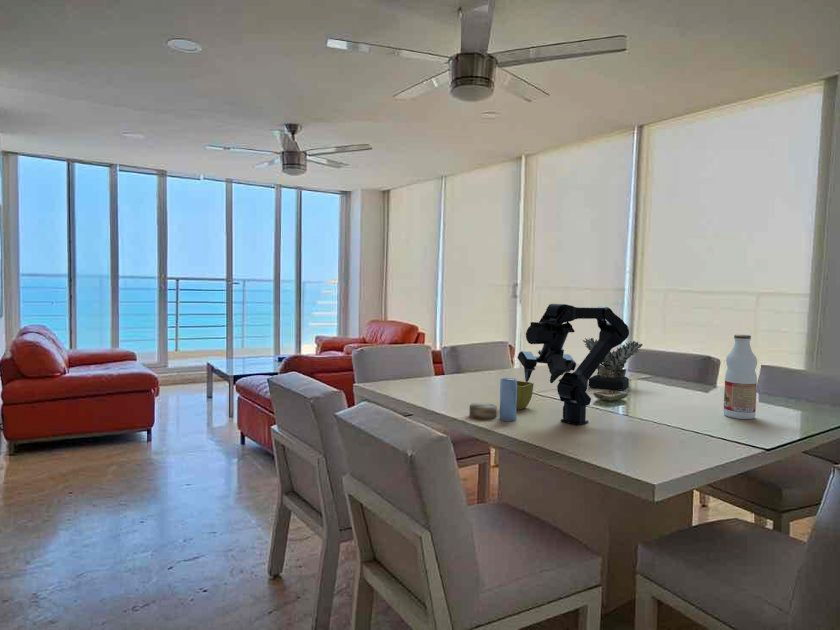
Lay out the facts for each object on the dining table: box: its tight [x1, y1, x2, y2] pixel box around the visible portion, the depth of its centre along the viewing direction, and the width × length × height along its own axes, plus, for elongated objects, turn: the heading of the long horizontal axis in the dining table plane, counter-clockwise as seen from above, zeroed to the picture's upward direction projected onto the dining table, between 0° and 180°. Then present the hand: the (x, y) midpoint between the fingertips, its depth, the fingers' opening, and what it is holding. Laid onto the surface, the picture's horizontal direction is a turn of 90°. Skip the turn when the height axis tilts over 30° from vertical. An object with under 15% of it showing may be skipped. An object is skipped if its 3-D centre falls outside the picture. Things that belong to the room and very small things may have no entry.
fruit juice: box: [723, 334, 758, 420], centre depth 183 cm, size 9×9×28 cm
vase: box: [499, 377, 518, 422], centre depth 176 cm, size 5×5×13 cm
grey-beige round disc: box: [469, 402, 498, 421], centre depth 180 cm, size 9×9×4 cm
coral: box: [582, 337, 643, 391], centre depth 237 cm, size 25×18×21 cm
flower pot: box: [516, 380, 534, 410], centre depth 193 cm, size 9×9×9 cm
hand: (538, 381), depth 177 cm, fingers open, 9 cm apart
